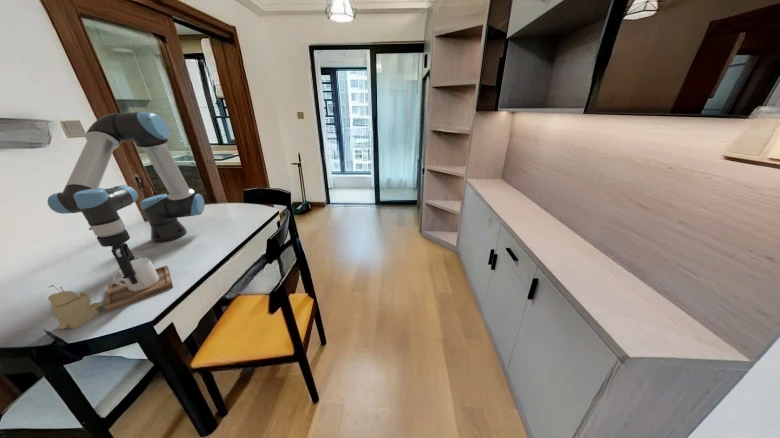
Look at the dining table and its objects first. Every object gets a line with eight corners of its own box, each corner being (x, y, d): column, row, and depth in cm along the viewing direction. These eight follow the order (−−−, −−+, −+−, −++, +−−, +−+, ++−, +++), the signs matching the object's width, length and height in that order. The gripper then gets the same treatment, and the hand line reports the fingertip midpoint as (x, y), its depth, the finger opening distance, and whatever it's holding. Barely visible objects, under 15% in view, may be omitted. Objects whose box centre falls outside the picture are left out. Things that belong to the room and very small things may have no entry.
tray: (110, 288, 99) (108, 284, 98) (168, 269, 110) (166, 265, 109) (107, 312, 87) (104, 307, 86) (173, 287, 98) (171, 283, 97)
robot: (88, 307, 89) (64, 272, 83) (108, 308, 88) (85, 273, 82) (49, 331, 80) (19, 294, 74) (71, 332, 79) (42, 294, 73)
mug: (164, 275, 103) (155, 256, 100) (151, 289, 95) (140, 268, 92) (130, 280, 101) (119, 261, 97) (113, 295, 93) (101, 274, 89)
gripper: (98, 226, 94) (126, 274, 103) (92, 247, 78) (125, 302, 87) (126, 220, 98) (150, 267, 107) (125, 239, 83) (153, 291, 92)
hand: (138, 282), depth 97 cm, fingers open, 11 cm apart
